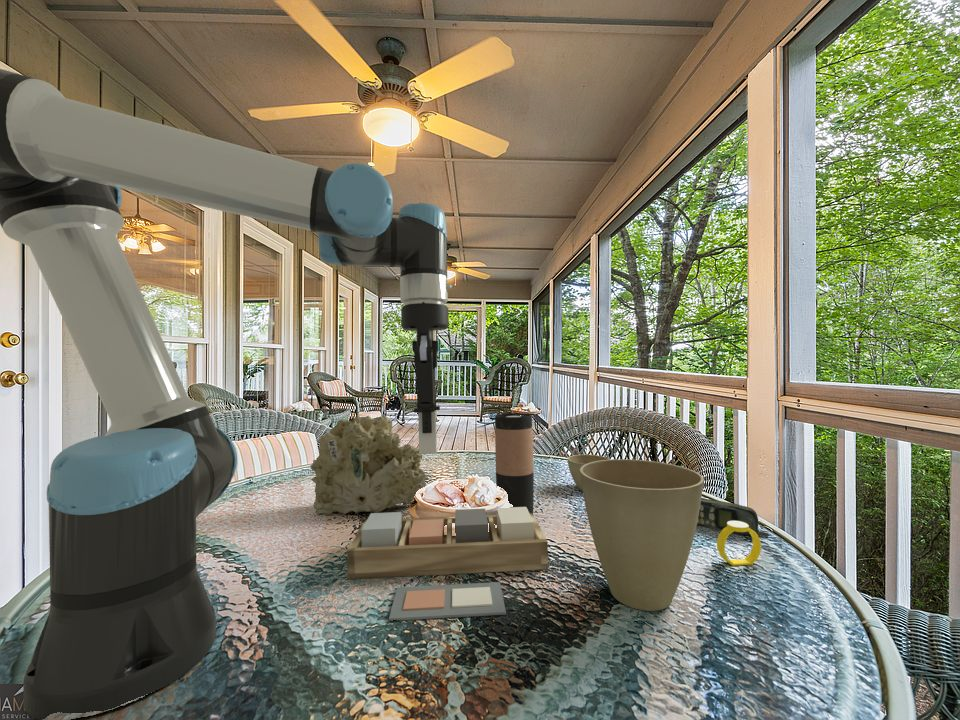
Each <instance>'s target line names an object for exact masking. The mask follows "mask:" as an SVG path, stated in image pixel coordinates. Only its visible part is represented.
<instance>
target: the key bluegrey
mask: <svg viewBox="0 0 960 720" xmlns="http://www.w3.org/2000/svg"><path fill="white" fill-rule="evenodd" d="M401 519H402V511H395V512H393V511H392V512H378V513H376V512H370V514H369V516H368V518H367V519H366V520H367V521H366V523H365V524H364V526H363V528H362V530H361V533H362V547H384V546H397V543H398V540H399V537H400V534H401V531H402V521H401Z"/></svg>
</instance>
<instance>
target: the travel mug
mask: <svg viewBox="0 0 960 720" xmlns="http://www.w3.org/2000/svg"><path fill="white" fill-rule="evenodd" d="M494 433H495V434H494V437H495V438H494V440H495V441H494V444H495V483H496V484H495V486H496V485H497V486H499V487H501V488H503V489H504V490H505V491H506V492H507V494H508V501H509V503H510V504H512V505H513V507H527V509H528V511H529V513H533V514H534V482H535V481H534V480H535V479H534V477H535V475H534V472H535V470H534V466H535V465H534V441H533V439H534V438H533V415H532V414H530V413H525V414H524V415H518V414H517V413H516V412H515V413H514V412H504V413H497V414H495V415H494Z"/></svg>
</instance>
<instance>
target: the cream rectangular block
mask: <svg viewBox="0 0 960 720" xmlns="http://www.w3.org/2000/svg"><path fill="white" fill-rule="evenodd" d="M496 515H497V527H498V531H499V535H500V538H501V541H513V540H534V521H533V519H532V517H531V515H530V513H529V511H528V509H527V507H510V508H498V507H496Z"/></svg>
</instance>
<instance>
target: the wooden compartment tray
mask: <svg viewBox="0 0 960 720" xmlns="http://www.w3.org/2000/svg"><path fill="white" fill-rule="evenodd" d="M530 515H531V517H532V519H533V521H534V540H513V541H501V538H500V535H499V531H498V527H497V528H495V525H497V514H486V516H487V520H488V523H489V532H488V534H489V542H470V543H456V536H452V523H455V518H447V517H448V516H435V517H434V516H431V517H410V518H401V521H402V531H401V534H400V537H399V540H398V543H397V546H384V547H362V533H361V530H362V528H363V526H364V524H365V523H366V521H367V519H366V520H364V522H363V524H362V525H361V527H360V528H359V530H358V531H357V533H356V536H355V537H354V539H353V540H352V542H351V544H350V545H349V547H348V549H347V550H346V558H347V559H346V562H347V564H346V565H347V566H346V567H347V580H361V579H362V580H363V579H379V578H400V577H420V576H437V575H439V576H441V575H457V574H458V575H460V574H479V573H482V574H483V573H495V572H496V573H497V572H499V573H500V572H519V571H537V570H548V569H549V554H548V553H549V552H548V551H549V549H548V546H549V545H548V542H549V541H548V540H547V538H546V536H545V535H544V532H543V530H542V529H541V527H540V525H539V522H538V521H537V519H536V516H535V515H534V512H533V513H530ZM431 519H444V526H445V525H447V535H444V544H427V545H409V535H410V532H411V528H412V524H413V521H414V520H431ZM494 524H495V525H494Z"/></svg>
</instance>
